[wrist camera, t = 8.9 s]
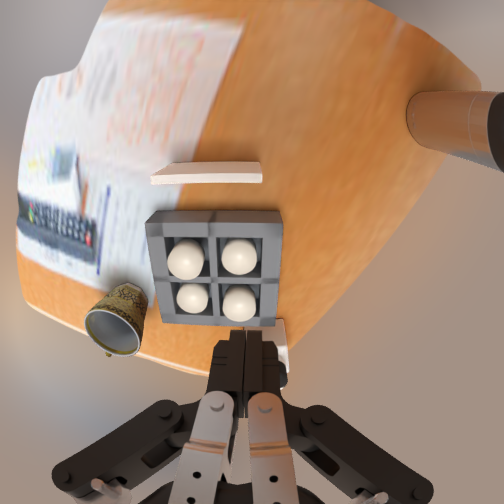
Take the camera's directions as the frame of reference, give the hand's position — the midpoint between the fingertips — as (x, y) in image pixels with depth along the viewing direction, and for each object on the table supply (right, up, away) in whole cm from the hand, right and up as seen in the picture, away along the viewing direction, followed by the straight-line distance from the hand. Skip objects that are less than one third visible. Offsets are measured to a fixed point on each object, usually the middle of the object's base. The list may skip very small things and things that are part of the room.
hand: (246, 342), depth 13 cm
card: (-5, +16, +23) cm, 28 cm away
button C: (-8, +4, +25) cm, 26 cm away
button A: (-1, +5, +26) cm, 27 cm away
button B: (-2, -2, +28) cm, 28 cm away
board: (-5, +3, +30) cm, 30 cm away
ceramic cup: (-22, -5, +34) cm, 41 cm away
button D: (-9, -1, +29) cm, 30 cm away
